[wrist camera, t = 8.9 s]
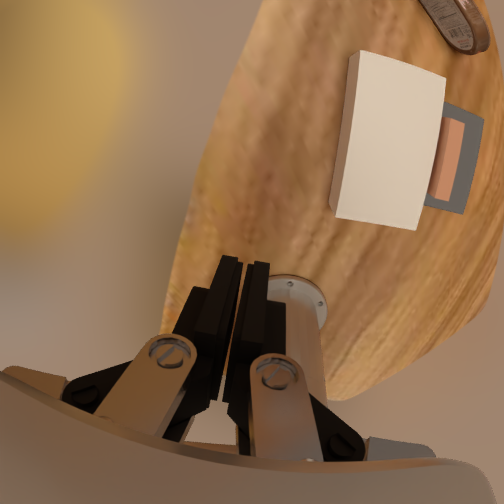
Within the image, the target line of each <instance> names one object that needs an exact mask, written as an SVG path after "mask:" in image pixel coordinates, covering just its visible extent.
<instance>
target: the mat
mask: <svg viewBox="0 0 504 504" xmlns="http://www.w3.org/2000/svg"><path fill="white" fill-rule="evenodd" d="M442 117H447V118H452V119H454V120H457V121H459V122H462V123H464V124H465V126H464V133H463V139H462V144H461V150H460V155H459V160H458V165H457V169H456V174H455V178H454V182H453V186H452V190H451V194H450V198H449V202H448V201H444V200H440V199H436V198H434V197H433V196H431V195H430V194H428V193H427V192H426V196H425V200H424V204H423V205H425V206H430V207H434V208H438V209H442V210H446V211H450V212H454V213H458V214H462V215H463V213H464V209H465V206H466V203H467V199H468V195H469V192H470V188H471V184H472V180H473V176H474V172H475V167H476V163H477V158H478V153H479V148H480V142H481V136H482V130H483V124H484V119H482V118H480V117H478V116H476V115H474V114H472V113H470V112H467V111H465V110H463V109H461V108H458V107H456V106H454V105H451V104H449V103H446V102H444V103H443V111H442Z"/></svg>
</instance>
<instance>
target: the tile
mask: <svg viewBox="0 0 504 504" xmlns="http://www.w3.org/2000/svg"><path fill="white" fill-rule="evenodd" d="M464 126H465V124H464V123H462V122H459V121H457V120H454V119H452V118H447V117H442V118H441V124H440V130H439V136H438V142H437V147H436V152H435V157H434V162H433V167H432V171H431V176H430V180H429V184H428V188H427V193H428V194H430V195H431V196H433V197H434V198H436V199H440V200H444V201H448V202H449V198H450V194H451V190H452V186H453V182H454V178H455V174H456V169H457V165H458V160H459V155H460V150H461V144H462V139H463V133H464Z"/></svg>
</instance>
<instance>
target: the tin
mask: <svg viewBox="0 0 504 504" xmlns="http://www.w3.org/2000/svg"><path fill="white" fill-rule="evenodd" d="M419 1H420V3H421V4H422V6H423V7H424V8H425V10H426V11H427V13H428V14H429V16H430V17H431V19H432V20H433V22H434V24H435V25H436V27H437V28H438V30H439V31H440V33H441V34H442V36H443V37H444V38H445V40H446V41H447V42H448V43H449V44H450V45H451V46H452V47H453V48H454V49H456V50H457V51H459V52H460V53H462V54H466V55H474V54H477V53H479V52H484V51H486V50H487V49H488V47H489V45H490V32H489V29H488V26H487V23H486V21H485V19H484V17H483V15H482V14H481V12H480V10H479V9H478V7H477V6H476V4H475V2H474V1H473V0H419Z"/></svg>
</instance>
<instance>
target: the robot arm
mask: <svg viewBox="0 0 504 504" xmlns="http://www.w3.org/2000/svg"><path fill="white" fill-rule="evenodd" d="M242 268H243V262H238V257H232V256H227V255H222V258H221V260H220V263H219V265H218V268H217V271H216V273H215V276H214V278H213V281H212V284H211V286H210V289H206V288H201V287H196V286H194V287H193V288H192V290H191V292H190V294H189V297H188V299H187V301H186V303H185V305H184V308H183V310H182V312H181V314H180V316H179V319H178V321H177V323H176V325H175V328H174V330H173V332H172V334H161V335H157V336H155V337H153V338H151V339H150V340H149V341H148V342H147V343H146V344H145V345H144V346H143V348H142V349H141V350H140V352H139V353H138V354H137V356H136V357H135V358H134V360H132V361H129V362H126V363H123V364H120V365H117V366H114V367H110V368H107V369H105V370H101V371H98V372H95V373H92V374H88V375H85V376H82V377H79V378H76V379H74V380H72V381H67V379H66V377H63V376H58V375H53V374H49V373H44V372H40V371H36V370H32V369H28V368H24V367H20V366H10V367H7V368H5V369H4V370H3V371H2V372H1V371H0V504H497V503H496V500H495V496H494V493H493V490H492V487H491V485H490V483H489V481H488V479H487V477H486V476H485V474H484V473H483V472H482V471H481V470H480V469H479V468H477V467H475V466H473V465H471V464H469V463H466V462H462V461H458V460H453V459H447V458H436V455H435V454H434V452H433V451H432V450H431V449H430V448H429V447H428V446H425V445H421V444H414V443H407V442H399V441H393V440H387V439H381V438H375V437H369V438H368V439H363V438H362V437H361V436H360V435H359V434H358V433H357V432H356V431H355V430H353V429H352V428H351V427H349V426H348V425H347V424H346V423H345V422H344V421H342V420H341V419H340V418H339V417H338V416H336V415H335V414H334V413H333V412H332V411H330V410H329V409H328V406H327V395H326V386H325V376H324V366H323V357H322V349H321V340H320V332H319V331H320V329H321V328H322V327H323V325H324V323H325V321H326V318H327V304H326V300H325V297H324V295H323V293H322V292H321V291H320V289H319V288H318V287H317V286H315V285H314V284H313V283H311V282H310V281H308V280H306V279H303V278H300V277H297V276H291V275H279V276H272V277H269V269H270V263H265V262H260V261H255V262H254V264H248V266H247V271H246V275H245V280H244V285H243V289H242V294H241V299H240V304H239V308H238V313H237V318H236V322H235V327H234V332H233V337H232V343H231V349H230V355H229V361H228V368H227V374H226V380H225V387H224V393H223V399H222V402H227V403H229V405H228V410H227V414H228V415H229V417H231V419H232V420H233V421H234V422H235V423H236V445H225V444H211V443H201V442H189V441H184V440H185V438H186V436H187V434H188V432H189V429H190V427H191V425H192V423H193V421H194V418H195V415H196V414H198V413H200V412H202V411H204V410H206V408H209V404H210V400H216V401H217V398H218V393H219V389H220V384H221V380H222V375H223V370H224V366H225V361H226V357H227V352H228V347H229V343H230V338H231V334H232V329H233V324H234V318H235V311H236V305H237V299H238V292H239V286H240V280H241V274H242ZM289 281H291V282H289Z"/></svg>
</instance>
